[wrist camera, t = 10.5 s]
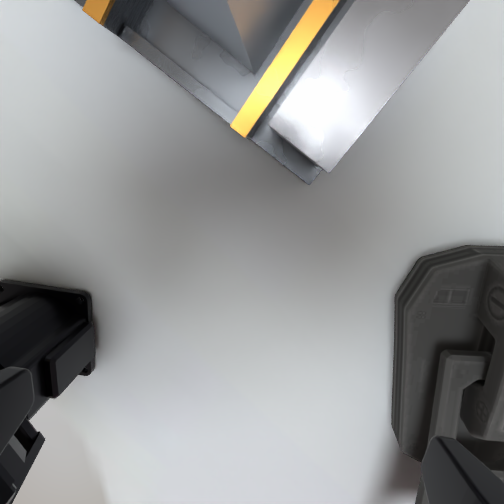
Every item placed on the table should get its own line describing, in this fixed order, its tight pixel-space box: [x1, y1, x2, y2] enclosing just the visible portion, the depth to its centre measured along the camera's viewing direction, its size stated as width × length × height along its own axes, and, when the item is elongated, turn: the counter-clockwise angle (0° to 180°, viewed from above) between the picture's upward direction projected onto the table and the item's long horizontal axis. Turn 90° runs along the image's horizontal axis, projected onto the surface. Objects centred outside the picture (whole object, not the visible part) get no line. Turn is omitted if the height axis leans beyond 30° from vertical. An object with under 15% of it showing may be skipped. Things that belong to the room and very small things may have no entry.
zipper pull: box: [391, 245, 504, 504], centre depth 19 cm, size 9×7×25 cm
